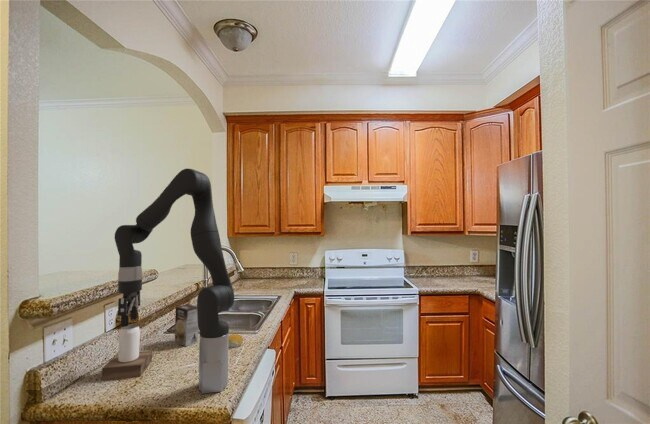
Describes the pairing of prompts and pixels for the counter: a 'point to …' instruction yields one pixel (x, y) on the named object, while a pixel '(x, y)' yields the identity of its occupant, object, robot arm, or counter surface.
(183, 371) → the counter surface
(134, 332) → the can
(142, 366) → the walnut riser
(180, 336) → the coffee box
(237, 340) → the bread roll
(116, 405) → the counter surface
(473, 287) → the counter surface
